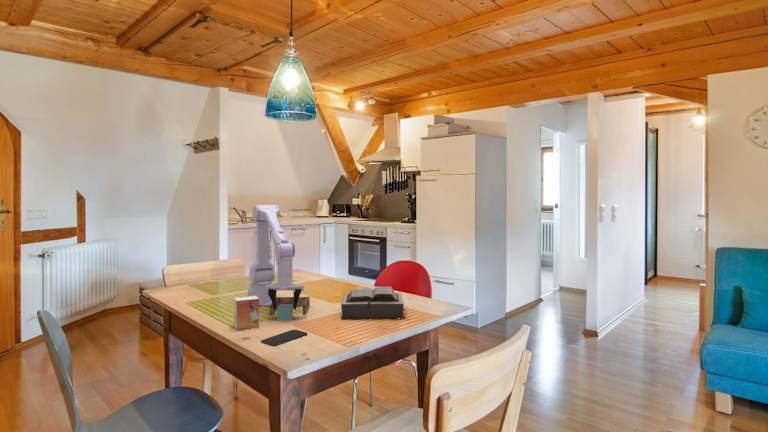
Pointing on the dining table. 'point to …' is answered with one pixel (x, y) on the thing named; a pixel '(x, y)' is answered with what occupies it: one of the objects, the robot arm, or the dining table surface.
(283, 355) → the dining table surface
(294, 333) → the phone
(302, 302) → the walnut crate
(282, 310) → the teal block
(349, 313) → the bible
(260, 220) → the robot arm
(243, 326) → the small box
